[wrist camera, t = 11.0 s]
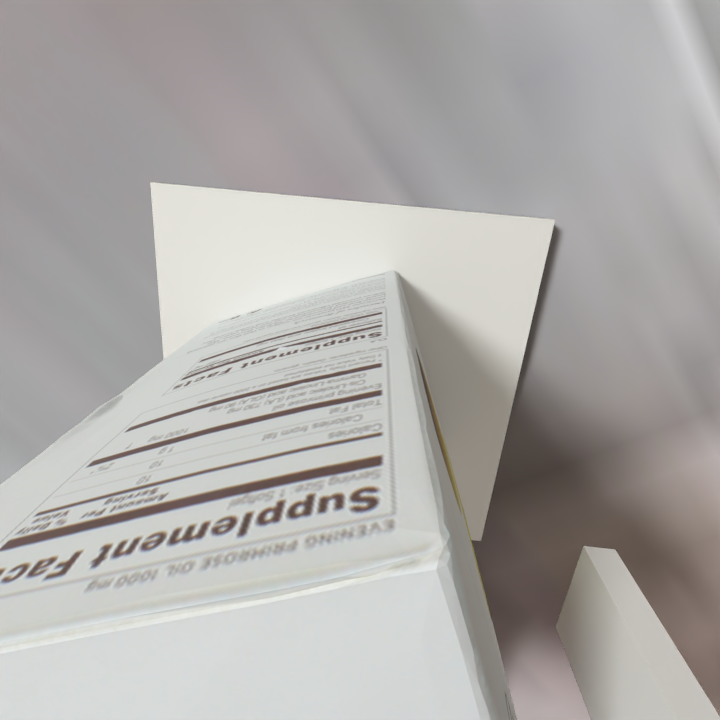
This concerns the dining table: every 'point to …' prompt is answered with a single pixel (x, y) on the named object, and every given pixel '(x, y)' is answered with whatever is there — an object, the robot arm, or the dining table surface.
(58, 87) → the dining table surface
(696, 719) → the robot arm
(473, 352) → the tile
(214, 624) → the supplement box
